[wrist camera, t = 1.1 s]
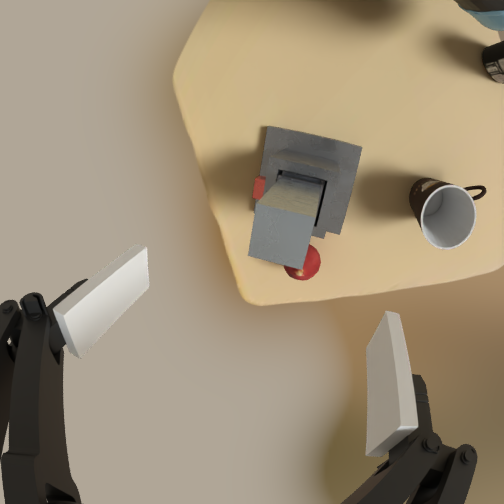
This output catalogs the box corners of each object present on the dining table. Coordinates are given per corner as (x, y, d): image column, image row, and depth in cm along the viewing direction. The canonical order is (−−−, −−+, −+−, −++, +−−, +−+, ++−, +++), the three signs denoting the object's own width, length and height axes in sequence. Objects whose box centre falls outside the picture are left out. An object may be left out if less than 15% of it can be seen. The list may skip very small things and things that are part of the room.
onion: (298, 271, 49) (292, 297, 42) (280, 245, 47) (270, 268, 41) (327, 257, 46) (326, 281, 39) (309, 229, 45) (304, 250, 38)
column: (292, 161, 39) (253, 199, 20) (325, 168, 38) (319, 215, 19) (286, 192, 42) (244, 257, 23) (318, 200, 41) (304, 273, 22)
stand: (269, 125, 39) (247, 126, 29) (361, 146, 37) (373, 154, 26) (255, 210, 46) (231, 238, 35) (339, 231, 44) (340, 266, 33)
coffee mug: (402, 223, 40) (418, 250, 31) (402, 170, 36) (421, 184, 28) (462, 223, 36) (488, 248, 28) (465, 172, 33) (495, 187, 24)
